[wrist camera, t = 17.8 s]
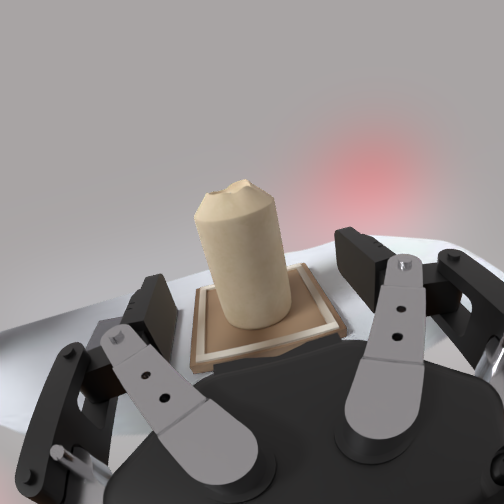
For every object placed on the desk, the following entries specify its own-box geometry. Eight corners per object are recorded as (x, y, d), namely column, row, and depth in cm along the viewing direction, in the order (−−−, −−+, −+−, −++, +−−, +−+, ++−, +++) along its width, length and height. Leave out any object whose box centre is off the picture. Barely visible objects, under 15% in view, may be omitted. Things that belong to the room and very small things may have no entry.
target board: (193, 374, 18) (188, 364, 17) (198, 295, 27) (195, 287, 27) (346, 336, 18) (346, 326, 17) (305, 269, 27) (304, 260, 27)
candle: (258, 282, 25) (233, 175, 21) (306, 299, 21) (286, 174, 17) (212, 314, 22) (173, 198, 18) (258, 341, 18) (221, 200, 14)
